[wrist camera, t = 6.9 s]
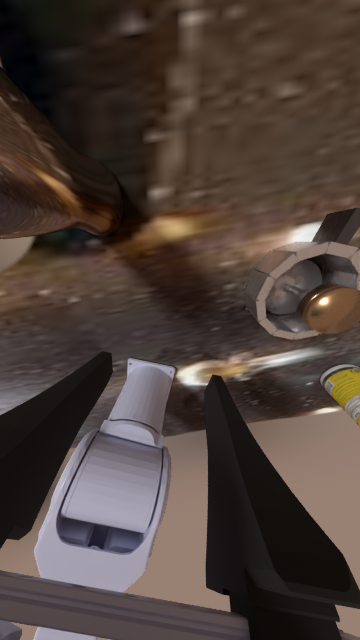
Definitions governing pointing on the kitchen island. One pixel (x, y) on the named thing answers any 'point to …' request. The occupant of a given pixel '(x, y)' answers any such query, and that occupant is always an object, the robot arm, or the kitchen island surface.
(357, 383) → the supplement bottle
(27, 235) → the beer glass
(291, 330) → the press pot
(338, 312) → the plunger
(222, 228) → the kitchen island surface
